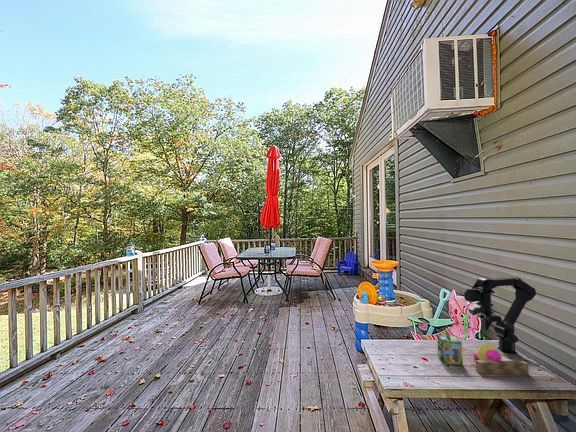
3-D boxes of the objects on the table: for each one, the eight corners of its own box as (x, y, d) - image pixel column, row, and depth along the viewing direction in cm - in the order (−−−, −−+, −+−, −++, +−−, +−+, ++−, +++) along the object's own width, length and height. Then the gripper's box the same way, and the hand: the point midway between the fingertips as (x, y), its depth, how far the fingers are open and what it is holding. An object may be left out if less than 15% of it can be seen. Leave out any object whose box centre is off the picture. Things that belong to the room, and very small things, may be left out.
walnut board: (524, 372, 136) (524, 361, 136) (528, 374, 133) (528, 363, 133) (475, 370, 137) (475, 359, 138) (479, 373, 135) (478, 362, 135)
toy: (491, 358, 152) (480, 338, 155) (514, 363, 135) (500, 341, 138) (475, 366, 151) (463, 346, 155) (495, 372, 134) (482, 350, 138)
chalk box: (463, 365, 142) (462, 335, 143) (443, 364, 144) (442, 334, 145) (456, 357, 151) (455, 329, 152) (437, 356, 153) (436, 327, 154)
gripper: (461, 296, 169) (461, 323, 168) (479, 305, 150) (480, 335, 150) (480, 297, 168) (481, 324, 167) (502, 305, 149) (503, 336, 149)
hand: (486, 329), depth 158 cm, fingers closed
